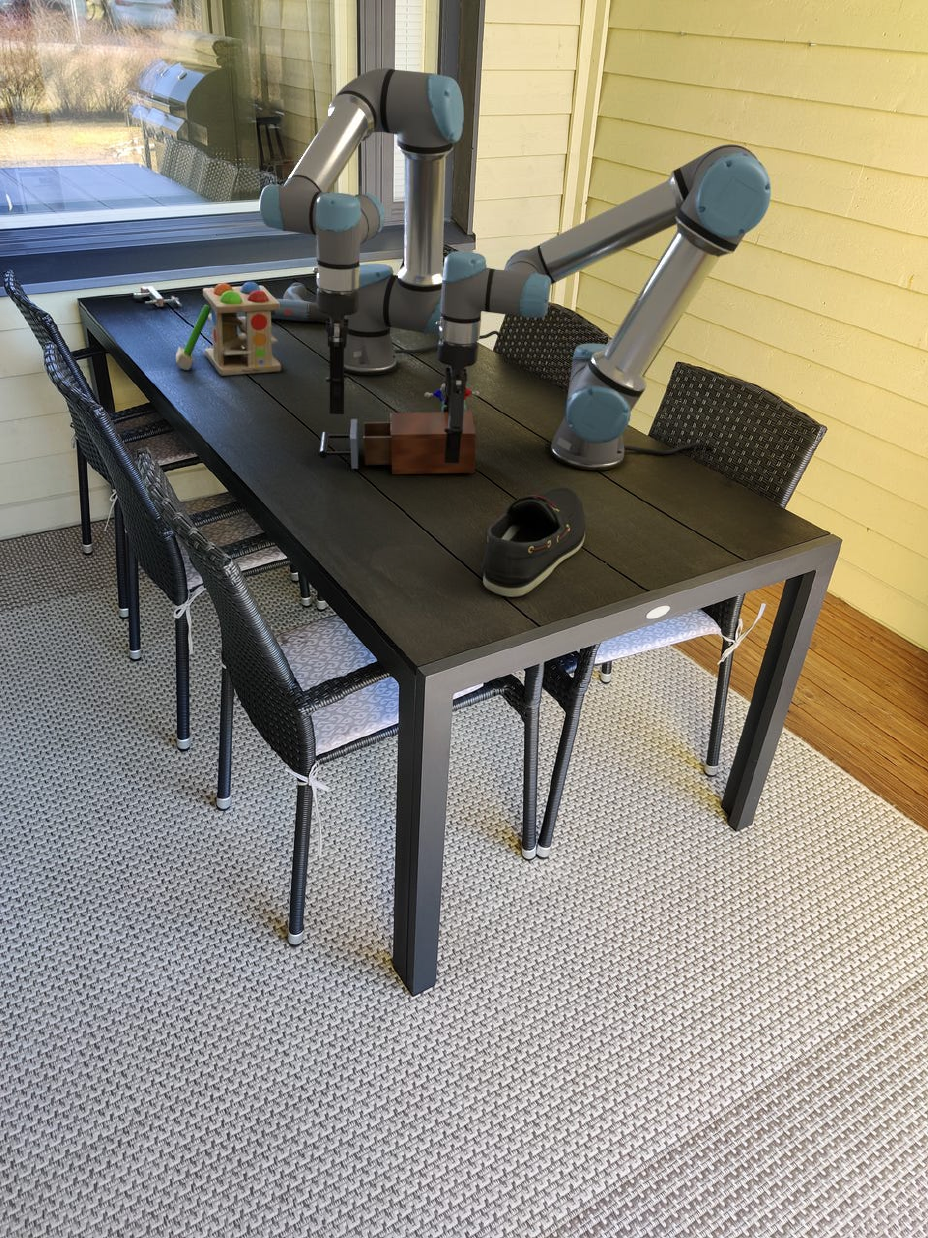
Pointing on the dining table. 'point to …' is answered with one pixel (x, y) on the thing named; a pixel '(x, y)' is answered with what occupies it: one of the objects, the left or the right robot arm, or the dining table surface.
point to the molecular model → (438, 395)
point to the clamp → (155, 297)
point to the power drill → (298, 306)
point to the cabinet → (429, 443)
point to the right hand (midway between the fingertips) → (449, 449)
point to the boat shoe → (532, 541)
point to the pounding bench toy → (229, 347)
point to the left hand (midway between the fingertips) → (336, 412)
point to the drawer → (374, 443)
